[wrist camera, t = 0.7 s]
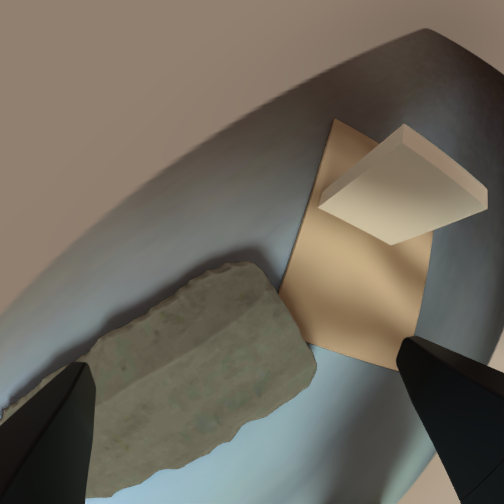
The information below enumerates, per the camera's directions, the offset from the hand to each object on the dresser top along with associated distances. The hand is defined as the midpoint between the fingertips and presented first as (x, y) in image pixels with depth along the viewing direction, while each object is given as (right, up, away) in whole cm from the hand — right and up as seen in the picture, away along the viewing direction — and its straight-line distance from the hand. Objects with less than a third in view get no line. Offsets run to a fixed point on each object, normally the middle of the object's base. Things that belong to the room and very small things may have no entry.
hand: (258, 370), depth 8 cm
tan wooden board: (+9, +4, +16) cm, 19 cm away
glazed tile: (+8, +6, +16) cm, 18 cm away
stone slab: (-7, -7, +10) cm, 14 cm away
